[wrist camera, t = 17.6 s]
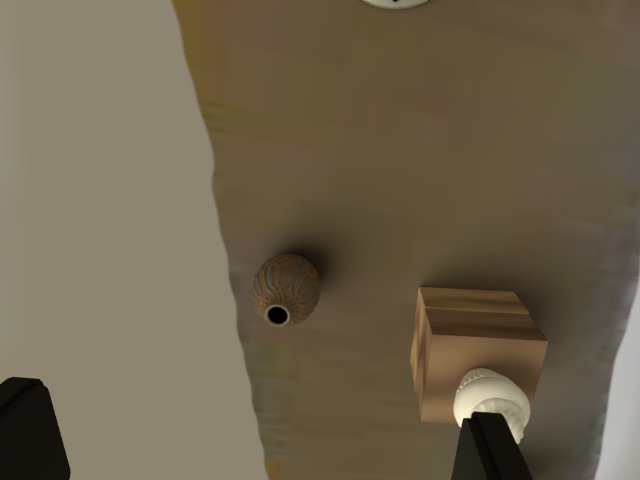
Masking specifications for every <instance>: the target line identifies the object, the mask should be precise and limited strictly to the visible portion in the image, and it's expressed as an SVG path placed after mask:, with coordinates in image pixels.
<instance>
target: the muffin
mask: <svg viewBox="0 0 640 480" xmlns="http://www.w3.org/2000/svg"><path fill="white" fill-rule="evenodd" d="M453 410H454V416H455V419H456V421H457V423H458V424H459V426H460V427H461V425H462V421H463V419H464V418H471V415H472V413H473V411H478V412H491V413H501V414H502V415H503V416H504V417H505V419H506V421H507V423H508V426H509V428H510V430H511V432H512V434H513V437H514V439H515V441H516V443H517V444H519V443H520V439H521V438H523V436H524V435H523V430H524V427H525V426H526V424H527V423H528V420H529V416H530V404H529V401H528V398H527V396H526V395H525V393H524V392H523V391H522V390H521V389H520V388H519V387H518V386H517V385H516V384H514V382H513V381H511V380H509V378H507V377H505V376H502V375H500V374H498V373H496V372H494V371H492V370H490V369H485V368H479V369H478V368H476V369H473V370H470V372H467V374H465V376H464V377H463V379H462V381H461V383H460V385H459V387H458V390H457V392H456V397H455V401H454V407H453Z"/></svg>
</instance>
